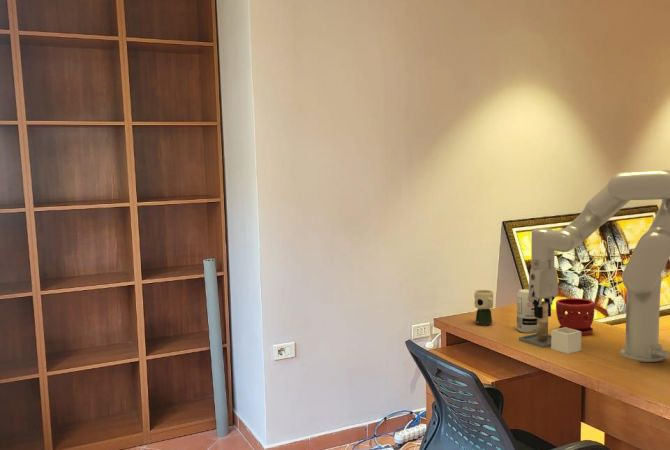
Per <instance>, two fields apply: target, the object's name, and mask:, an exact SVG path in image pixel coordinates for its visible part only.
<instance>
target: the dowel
mask: <svg viewBox="0 0 670 450" xmlns="http://www.w3.org/2000/svg"><path fill="white" fill-rule="evenodd" d="M541 307H543V318H537V332H536V333H537V339H538V340H541V341H546V340H548V335H549V317H548V302H545V301H544V300H542V304H541Z"/></svg>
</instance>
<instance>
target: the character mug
mask: <svg viewBox="0 0 670 450" xmlns="http://www.w3.org/2000/svg"><path fill="white" fill-rule="evenodd" d="M473 296H474V304H473V305H474V307H475V308H476V309H477V310H476V314H475V324H478V325H480V326H481V325H482V326H483V325H484V326H487V325H490V324H493V317H492V311H491V309H493V307H494V291H493V290H490V289H477V290H474V295H473Z"/></svg>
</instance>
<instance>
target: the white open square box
mask: <svg viewBox="0 0 670 450" xmlns="http://www.w3.org/2000/svg"><path fill="white" fill-rule="evenodd" d="M550 330H551V331H550V332H551V334H550V335H551V346H550V349H551V350H553V351H556V352H560V353H563V354H567V355H569V354H572V353H577V352H581V351H582V336H581V331H578V330H574V329H571V328H567V327H563V328H559V327H558V328H555V329H550Z"/></svg>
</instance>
